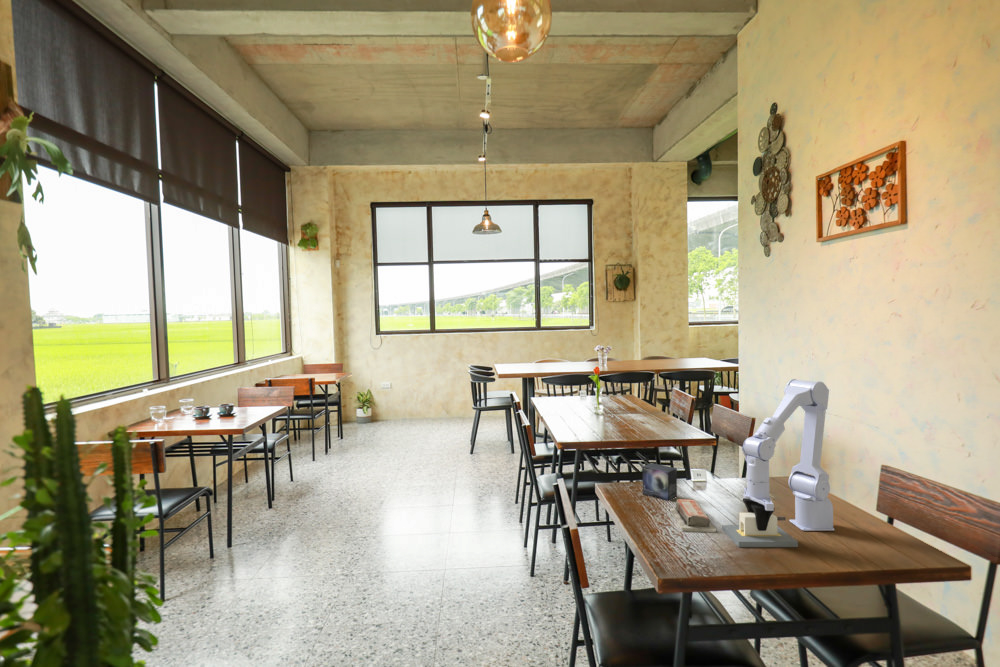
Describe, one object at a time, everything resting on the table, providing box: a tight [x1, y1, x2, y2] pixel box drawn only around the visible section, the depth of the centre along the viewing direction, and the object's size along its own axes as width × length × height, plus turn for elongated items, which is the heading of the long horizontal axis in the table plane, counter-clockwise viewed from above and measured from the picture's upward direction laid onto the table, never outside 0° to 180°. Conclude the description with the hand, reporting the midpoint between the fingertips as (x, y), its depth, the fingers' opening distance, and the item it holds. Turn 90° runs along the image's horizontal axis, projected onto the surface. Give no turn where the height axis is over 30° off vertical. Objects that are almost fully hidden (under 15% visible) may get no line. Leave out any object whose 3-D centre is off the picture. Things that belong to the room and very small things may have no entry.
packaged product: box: [670, 498, 717, 533], centre depth 166 cm, size 18×5×10 cm
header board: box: [721, 524, 799, 548], centre depth 152 cm, size 16×12×4 cm
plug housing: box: [738, 512, 786, 535], centre depth 152 cm, size 12×4×5 cm, turn 88°
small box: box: [642, 462, 678, 502], centre depth 191 cm, size 11×6×10 cm, turn 43°
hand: (758, 527), depth 152 cm, fingers closed on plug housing, 4 cm apart
